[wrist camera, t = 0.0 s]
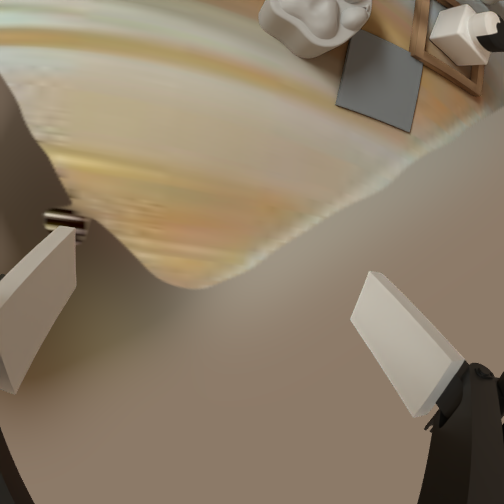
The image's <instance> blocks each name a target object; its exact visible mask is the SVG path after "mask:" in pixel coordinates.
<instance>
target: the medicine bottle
mask: <svg viewBox="0 0 504 504" xmlns="http://www.w3.org/2000/svg"><path fill="white" fill-rule="evenodd" d="M429 39H430V40H431V41H432V42H433V43H434V44H435V45H436V46H437V47H438V48H440V49H441V50H442V51H443V52H444V53H445V54H446V55H447V56H448V57H449V58H450V59H451V60H452V61H453V62H454V63H455V64H456V65H457V66H467V65H486V64H487V63H488V60H489V56H490V53H491V52H504V21H503V19H502V18H501V17H500V16H499V15H497V14H496V13H494V12H492V11H489V12H483V13H478V14H477V13H476V12H475V11H474V10H473V9H472V8H471V7H470V6H469V5H468V4H465V5H461V6H457V7H453V8H450V9H446V10H443V11H440V12H439V15H438V17H437V20H436V23H435V25H434V28H433V30H432V33H431V35H430V38H429Z"/></svg>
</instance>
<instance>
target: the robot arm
mask: <svg viewBox="0 0 504 504" xmlns="http://www.w3.org/2000/svg"><path fill="white" fill-rule="evenodd" d="M75 288H76V265H75V228H71V227H65V226H59V227H58V228H56V229H55V230H54V231H53V232H52V233H51V234H49V235H48V236H47V237H46V238H45V239H44V240H43V241H42V242H40V244H38V245H37V246H36V247H35V248H34V249H33V250H32V251H31V252H30V253H28V254H27V255H26V256H25V257H24V258H23V259H22V260H21V261H20V262H19V263H18V264H17V265H16V266H15V267H14V268H13V269H12V270H11V271H10V272H9V273H8V274H7V275H4V274H1V275H0V389H1V390H3V391H6V392H9V393H12V394H16V392H17V390H18V388H19V386H20V384H21V382H22V380H23V378H24V376H25V374H26V372H27V370H28V368H29V366H30V364H31V363H32V361H33V359H34V357H35V355H36V353H37V351H38V350H39V348H40V346H41V344H42V342H43V341H44V339H45V337H46V335H47V334H48V332H49V330H50V328H51V327H52V325H53V323H54V322H55V320H56V318H57V317H58V315H59V313H60V312H61V310H62V308H63V307H64V305H65V303H66V302H67V300H68V299H69V297H70V296H71V294H72V292H73V290H74V289H75ZM350 321H351V322H352V323H353V325H354V326H355V328H356V329H357V331H358V332H359V334H360V335H361V337H362V338H363V340H364V341H365V343H366V345H367V346H368V347H369V349H370V350H371V352H372V354H373V355H374V357H375V358H376V360H377V361H378V363H379V364H380V366H381V367H382V369H383V371H384V372H385V374H386V375H387V377H388V378H389V380H390V382H391V383H392V385H393V386H394V388H395V389H396V391H397V393H398V394H399V396H400V397H401V399H402V401H403V402H404V404H405V405H406V407H407V408H408V410H409V412H410V413H411V415H412V417H413V418H414V417H418V416H423V415H427V414H428V412H429V411H430V410H431V409H432V407H433V406H434V404H435V403H436V404H437V406H438V407H439V410H438V411H437V412H436V414H435V415H434V416H433V418H432V419H431V420H430V421H429V422H428V424H427V425H426V426H425V428H424V430H427V429H428V428H429V426H431V425H433V428H432V429H431V430H430V432H432V437H431V443H430V449H429V454H428V460H427V465H426V470H425V474H424V479H423V483H422V488H421V492H420V495H419V499H418V503H417V504H504V424H503V425H502V422H501V418H502V417H503V416H504V372H503V373H502V375H501V377H500V378H495V377H494V375H493V373H492V372H491V371H490V370H489V369H488V368H486V367H485V366H483V365H481V364H479V363H471V364H470V365H469V364H468V363H467V362H466V361H465V359H464V358H463V356H462V355H461V354H460V353H459V352H458V351H457V350H456V349H455V348H454V347H453V345H452V344H451V343H450V342H449V341H448V340H447V339H446V338H445V337H444V336H443V335H442V334H441V332H440V331H439V330H438V329H437V328H436V327H435V326H434V325H433V324H432V323H431V322H430V321H429V320H428V319H427V318H426V317H425V316H424V315H423V313H422V312H421V311H420V310H419V309H417V307H416V306H415V305H414V304H413V303H412V302H411V301H410V300H409V299H408V298H407V297H406V296H405V295H404V294H403V293H402V292H401V291H400V290H399V289H398V288H397V287H396V286H395V285H394V284H393V283H392V282H391V281H390V280H388V278H387V277H385V276H384V274H383V273H380V272H373V271H369V273H368V276H367V278H366V281H365V283H364V286H363V288H362V291H361V294H360V296H359V299H358V301H357V304H356V306H355V308H354V311H353V313H352V316H351V318H350ZM0 504H34V502H33V500H32V498H31V496H30V494H29V492H28V490H27V488H26V486H25V484H24V482H23V480H22V478H21V476H20V475H19V472H18V470H17V467H16V466H15V463H14V461H13V458H12V456H11V454H10V451H9V449H8V446H7V444H6V441H5V439H4V436H3V433H2V431H1V428H0Z"/></svg>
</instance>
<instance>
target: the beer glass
mask: <svg viewBox="0 0 504 504" xmlns="http://www.w3.org/2000/svg"><path fill="white" fill-rule="evenodd" d="M481 1H482V2H483V3H485V4H487V5H492V4H494V3H496V2H499V1H504V0H481Z"/></svg>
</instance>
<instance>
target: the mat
mask: <svg viewBox="0 0 504 504" xmlns="http://www.w3.org/2000/svg"><path fill="white" fill-rule="evenodd" d="M410 55H411V53H410V52H408V51H406V50H404V49H402V48H400V47H398V46H396V45H394V44H392V43H390V42H388V41H386V40H384V39H382V38H380V37H378V36H375V35H373V34H371V33H369V32H366V31H364V30H362V29H360V30H359V31H358V32H357V33H356V34H355V35H353V36H352V37H351V38H350V40H349V45H348V50H347V54H346V59H345V64H344V69H343V73H342V78H341V82H340V87H339V91H338V96H337V100H336V105H337V106H340V107H343V108H346V109H349V110H352V111H355V112H358V113H360V114H363V115H366V116H369V117H371V118H374V119H376V120H379V121H382V122H384V123H387V124H389V125H392V126H394V127H397V128H399V129H401V130H404V131H406V132H410V129H411V124H412V120H413V115H414V110H415V106H416V101H417V96H418V90H419V85H420V79H421V74H422V68H423V62H421V61H419V60H417V59H415V58H414V57H412V56H410Z"/></svg>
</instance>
